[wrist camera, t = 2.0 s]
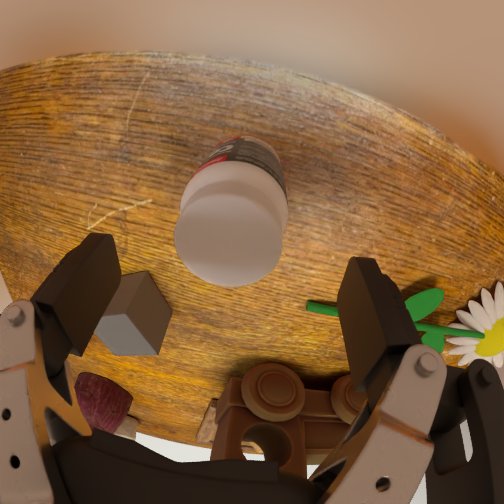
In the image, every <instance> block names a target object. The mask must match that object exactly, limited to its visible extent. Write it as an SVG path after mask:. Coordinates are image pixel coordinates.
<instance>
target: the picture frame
mask: <svg viewBox="0 0 504 504" xmlns="http://www.w3.org/2000/svg"><path fill="white" fill-rule="evenodd" d="M217 401H218V400H213V399H212V400H211V403H210V405H209V407H208V410H207V412H206V414H205V417H204V419H203V421H202V424H201V426H200V428H199V431H198V433H197V435H196V438H195V439H196V440H195V442H196V443H201V444H207V445H212V446H213V442H214V438H215V435H216V431H217V427H218V425H217V424H214V423H215V415H216V407H217ZM241 446H242V450H249V451H257V452H259V453H263V451H262V450H261V448H260V447H259V446H258V445H257V444H255V443H254V442H245V441H242V442H241Z"/></svg>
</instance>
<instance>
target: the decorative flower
mask: <svg viewBox="0 0 504 504" xmlns="http://www.w3.org/2000/svg"><path fill="white" fill-rule="evenodd" d="M443 297H444V291H443V290H441V289H439V288H432V289H426V290H424V291H422V292H419V293H417V294H415V295H413V296H411V297H410V298H409V299H407V300H406V301H404V302H405V304H406V306H407V307H406V309H408V310H409V313H410V315H411V317H412V319H413V322H414V324H415V326H416V329H417V330H418V331H425V332H426V333H425V334H424V335H423V336H422V338H421V341H422V343H423V345H427V346H429V347H432V348H433V349H435V350H436V351H437V352H438V353H439V354H440V353H441V352H442V351H443V347H444V344H445V338H444V335H443V334H446V335H454V336H461V337H451V338H448V339H446V341H448V342H449V343H452V344H457V345H461V346H458V347H455V348H452V349H451V350H450V351H449V352H448V353H449V354H451V355H460V354H464V355H463V356H462V357H461V359H460V360H459V362H458V366H462V365H465V364H467V363H468V362H469V364H470V363H471V362H472V361H473V360H475V359H484V360H486V361H488V362H489V363H491V362H492V359H493V361H494V364H495V365H496V366H497V367H498V368H501V366H502V365H503V362H504V358H503V354H504V289H503V286H502V284H501V283H500V282H498V283H497V284H496V288H495V294H494V300H493V298H492V296H491V294H490V293H489V292H488V291H487V290H486V289H485V288H482V290H481V299H482V304H483V307H484V308H483V307H482V306H481V305H480V304H479V303H477V302H475V301H469V304H468V306H469V309H470V312H471V314H472V315H471V314H469V313H468V312H465V311H463V310H457V311H456V313H457V316H458V318H459V320H460V321H461V322H462V323H463V324H460V323H451V324H449V325H448V327H445V326H439V325H432V324H426V323H420V322H416V321H418V320H421V319H423V318H424V317H426V316H427V315H429V314H430V313H432V312H433V311H434V310H435V309H436V308H437V307H438V306H439V304H440V303H441V302H442V301H443ZM306 310H307V311H312V312H317V313H322V314H327V315H332V316H337V317H339V315H338V310H337V307H334V306H329V305H324V304H319V303H314V302H309V301H308V303H307V306H306ZM502 352H503V353H502ZM469 364H468V365H469Z"/></svg>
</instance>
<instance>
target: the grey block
mask: <svg viewBox="0 0 504 504" xmlns="http://www.w3.org/2000/svg"><path fill="white" fill-rule="evenodd" d="M171 315H172V310H171V309H170V307H169V305H168V304H167V302H166V301H165V299H164V298H163V296H162V294H161V293H160V291H159V289H158V288H157V286H156V285H155V283H154V281H153V280H152V278H151V276H150V275H149V273H148V271H144V272H139V273H134V274H129V275H125V276H121V282H120V285H119V287H118V289H117V291H116V293H115V294H114V296H113V298H112V300H111V301H110V303H109V305H108V307H107V309H106V310H105V312H104V314H103V316H102V318H101V320H100V321H99V323H98V325H97V327H96V329H95V331H94V333H95V334H96V335H97V336H98V338H99V339H100V340H101V341H102V342H103V343H104V344H105V345H106V346H107V348H108V349H109V350H110V351H111V352H112V353H113V354H114V355H117V356H135V355H159V352H160V349H161V345H162V342H163V339H164V336H165V333H166V330H167V327H168V324H169V321H170V318H171Z"/></svg>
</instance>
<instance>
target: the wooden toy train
mask: <svg viewBox="0 0 504 504" xmlns="http://www.w3.org/2000/svg"><path fill="white" fill-rule="evenodd" d="M367 399H368V398H367V392H366V391H361V392H354V390H353V384H352V379H351V375H344V376H342V377H340V378H338V380H337V381H336V382H335V383H334V385H333V387H332V390H331V392H330V391H319V390H310V389H304V385H303V383H302V381H301V379H300V378H299V376H298V375H297V374H296V373H295V372H294V371H293V370H291V369H289V368H288V367H286V366H284V365H281V364H278V363H264V364H260V365H256V366H254V367H253V368H251V369H249V370H248V372H247V373H246V374H245V375H244V377H243V379H240V378H235V377H232V378H231V380H230V381H229V383H228V385H227V386H226V388H225V390H224V391H223V393H222V395H221V396H220V398H219V400H218V401H217V407H216V415H215V423H214V424H217V425H218V427H217V431H216V435H215V438H214V442H213V446H212V451H211V456H210V461H213V460H222V459H240V460H247V459H246V458H245V456H244V455H243V453H242V446H241V442H242V441H245V442H254V443H255V444H257V445H258V446H259V447H260V448H261V450H262V451H263V453H264V458H265V461H279V469H282V470H286V471H289V472H292V473H295V474H297V475H300V476H302V477H304V478H306V479H307V465H320V464H321V463H322V462H323V461H324V459H325V458H326V457H327V456H328V455H329V454H330V453H331V452H332V451H333V450H334V448H335V447H336V446H337V444H338V443H339V442H340V440H341V439H342V437H343V436H344V434H345V433H346V431H347V430H348V428H349V427H350V425H351V423H352V422H353V420H354V419H355V417H356V415H357V414H358V412H359V411H360V409H361V407H362V405H363V404H364V402H365V401H366V400H367Z"/></svg>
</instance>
